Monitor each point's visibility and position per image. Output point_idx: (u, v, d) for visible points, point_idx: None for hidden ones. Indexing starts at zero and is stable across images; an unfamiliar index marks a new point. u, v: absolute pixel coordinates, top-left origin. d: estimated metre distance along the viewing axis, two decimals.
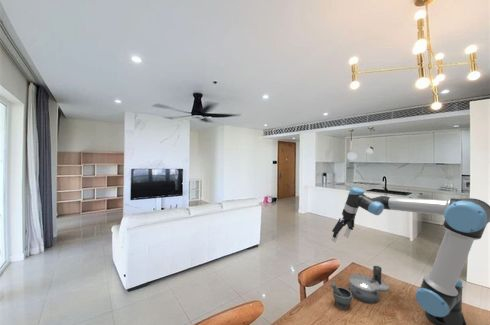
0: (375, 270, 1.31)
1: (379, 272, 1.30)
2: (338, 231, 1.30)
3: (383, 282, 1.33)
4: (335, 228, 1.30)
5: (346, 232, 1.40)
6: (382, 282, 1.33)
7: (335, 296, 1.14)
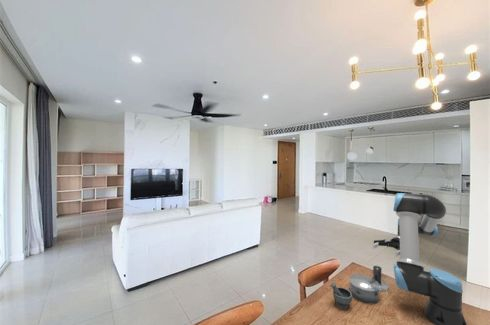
0: (375, 270, 1.31)
1: (379, 272, 1.30)
2: (378, 241, 1.48)
3: (383, 282, 1.33)
4: None
5: None
6: (382, 282, 1.33)
7: (335, 296, 1.14)
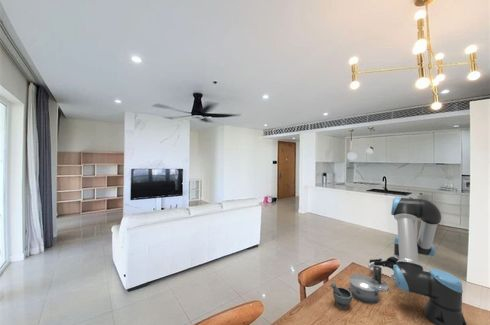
0: (375, 270, 1.31)
1: (379, 272, 1.30)
2: (374, 261, 1.46)
3: (383, 282, 1.33)
4: None
5: None
6: (382, 282, 1.33)
7: (335, 296, 1.14)
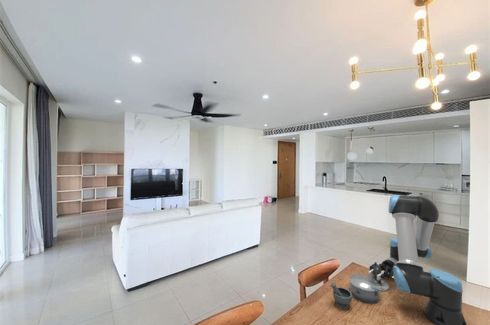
0: (375, 270, 1.31)
1: (379, 271, 1.30)
2: None
3: (383, 282, 1.33)
4: None
5: None
6: (382, 282, 1.33)
7: (335, 296, 1.14)
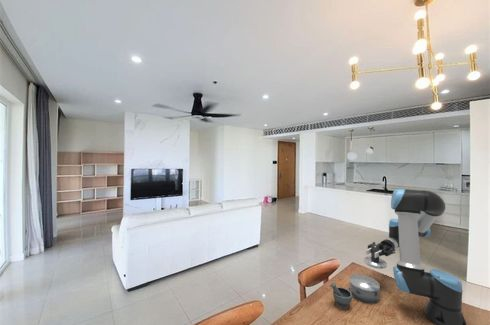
0: (373, 248, 1.30)
1: (377, 249, 1.29)
2: None
3: (381, 260, 1.32)
4: None
5: None
6: (380, 260, 1.32)
7: (335, 296, 1.14)
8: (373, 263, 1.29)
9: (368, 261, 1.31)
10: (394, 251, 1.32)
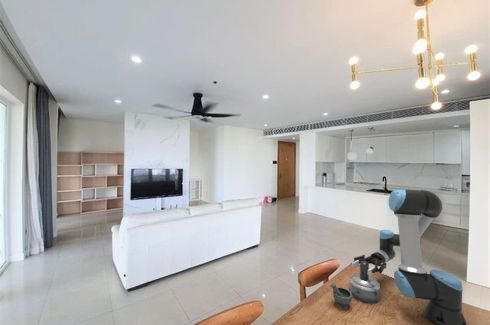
0: (362, 265, 1.22)
1: (366, 267, 1.21)
2: (358, 259, 1.30)
3: (371, 278, 1.24)
4: None
5: None
6: (370, 278, 1.24)
7: (335, 296, 1.14)
8: (362, 281, 1.21)
9: (357, 279, 1.23)
10: (385, 266, 1.24)
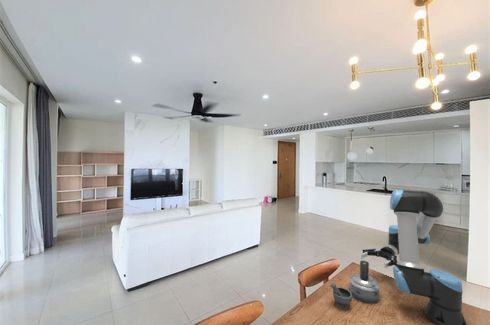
0: (362, 265, 1.22)
1: (366, 267, 1.21)
2: (367, 251, 1.39)
3: (371, 278, 1.24)
4: None
5: None
6: (369, 278, 1.24)
7: (335, 296, 1.14)
8: (362, 281, 1.21)
9: (357, 279, 1.23)
10: (396, 258, 1.32)
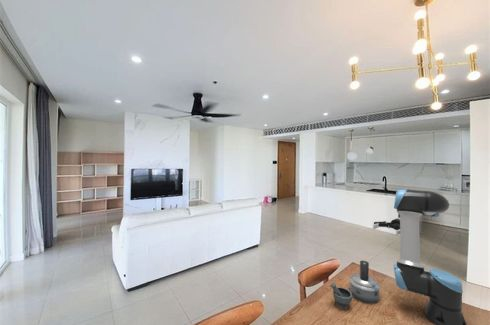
0: (362, 265, 1.22)
1: (366, 267, 1.21)
2: (378, 223, 1.46)
3: (371, 278, 1.24)
4: None
5: None
6: (369, 278, 1.24)
7: (335, 296, 1.14)
8: (362, 281, 1.21)
9: (357, 279, 1.23)
10: None
